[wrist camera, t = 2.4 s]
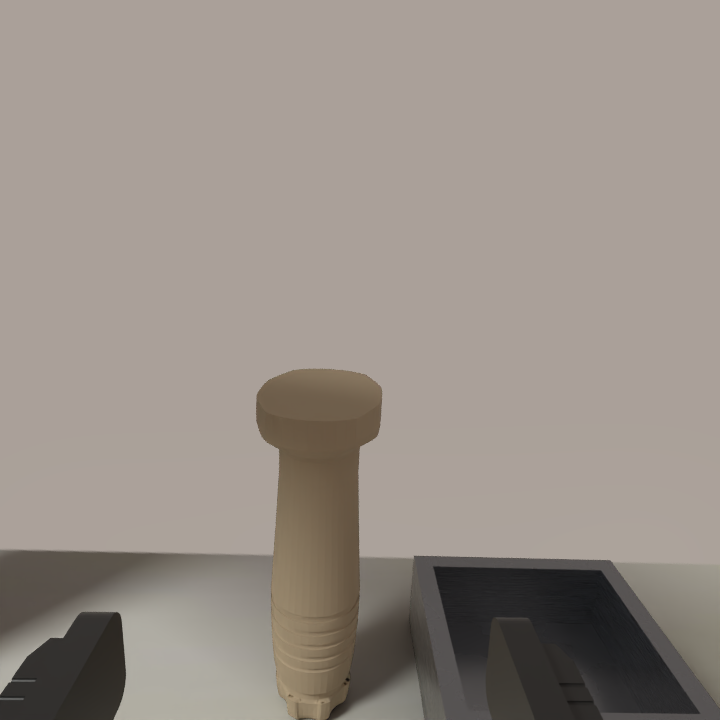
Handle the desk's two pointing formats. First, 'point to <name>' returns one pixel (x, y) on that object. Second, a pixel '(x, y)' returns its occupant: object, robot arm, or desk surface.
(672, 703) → the grey square tray
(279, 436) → the handle
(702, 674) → the desk surface
